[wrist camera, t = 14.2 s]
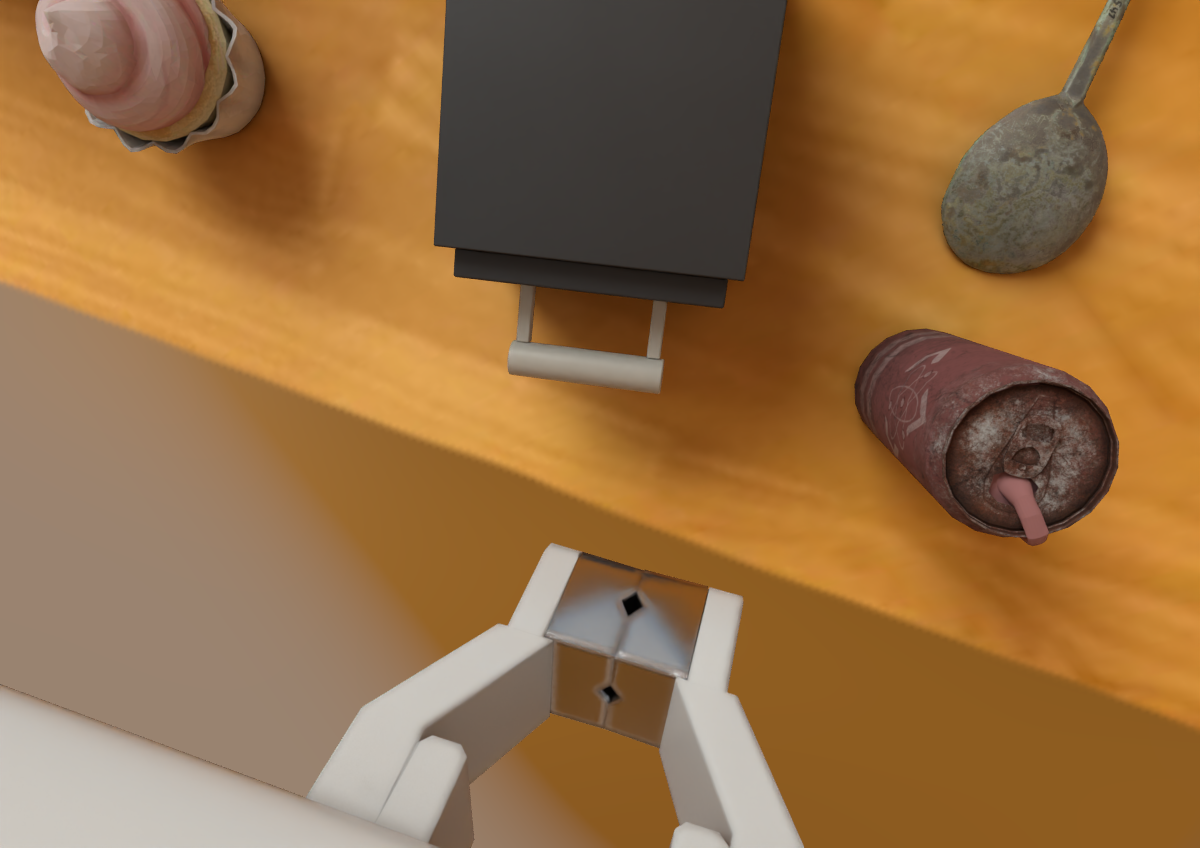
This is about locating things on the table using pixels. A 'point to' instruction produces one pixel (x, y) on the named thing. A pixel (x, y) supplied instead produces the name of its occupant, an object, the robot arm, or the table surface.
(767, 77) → the black drawer box
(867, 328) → the table surface
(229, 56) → the cupcake
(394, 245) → the table surface
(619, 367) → the dark drawer with handle
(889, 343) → the can
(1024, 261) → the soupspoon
